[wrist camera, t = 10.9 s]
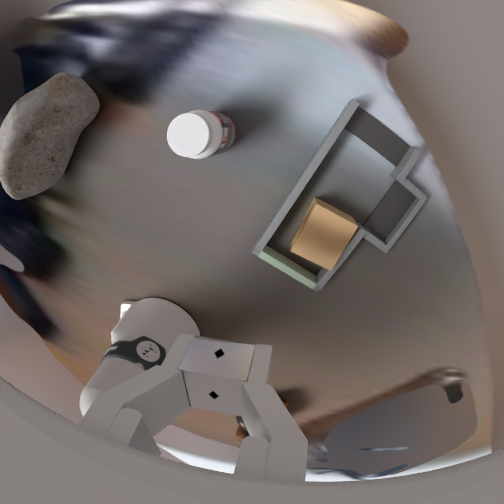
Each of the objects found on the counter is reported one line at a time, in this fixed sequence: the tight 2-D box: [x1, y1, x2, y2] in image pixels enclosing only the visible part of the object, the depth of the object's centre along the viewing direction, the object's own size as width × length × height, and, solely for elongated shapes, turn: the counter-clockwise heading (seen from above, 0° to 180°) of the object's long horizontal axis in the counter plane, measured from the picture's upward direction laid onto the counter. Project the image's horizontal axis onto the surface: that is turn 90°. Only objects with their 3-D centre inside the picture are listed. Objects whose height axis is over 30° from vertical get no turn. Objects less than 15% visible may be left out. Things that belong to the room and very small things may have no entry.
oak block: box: [291, 197, 358, 271], centre depth 37 cm, size 7×6×4 cm
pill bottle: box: [167, 110, 236, 159], centre depth 31 cm, size 6×6×10 cm
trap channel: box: [252, 99, 428, 292], centre depth 36 cm, size 24×16×2 cm, turn 150°
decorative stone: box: [0, 72, 100, 200], centre depth 30 cm, size 17×20×10 cm
